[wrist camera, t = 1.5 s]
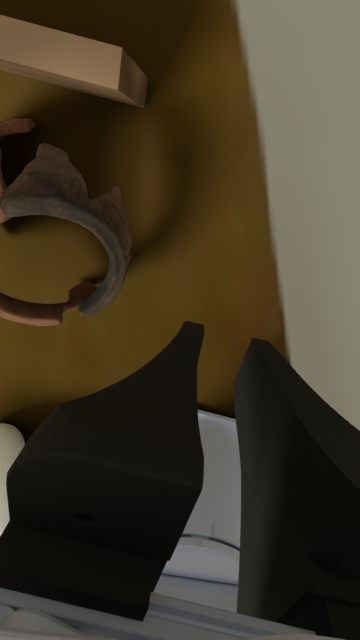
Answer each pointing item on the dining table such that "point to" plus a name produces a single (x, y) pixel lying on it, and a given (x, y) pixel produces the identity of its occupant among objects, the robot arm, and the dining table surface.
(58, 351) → the dining table surface
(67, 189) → the brown curved piece
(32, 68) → the walnut screen
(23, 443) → the white knot
